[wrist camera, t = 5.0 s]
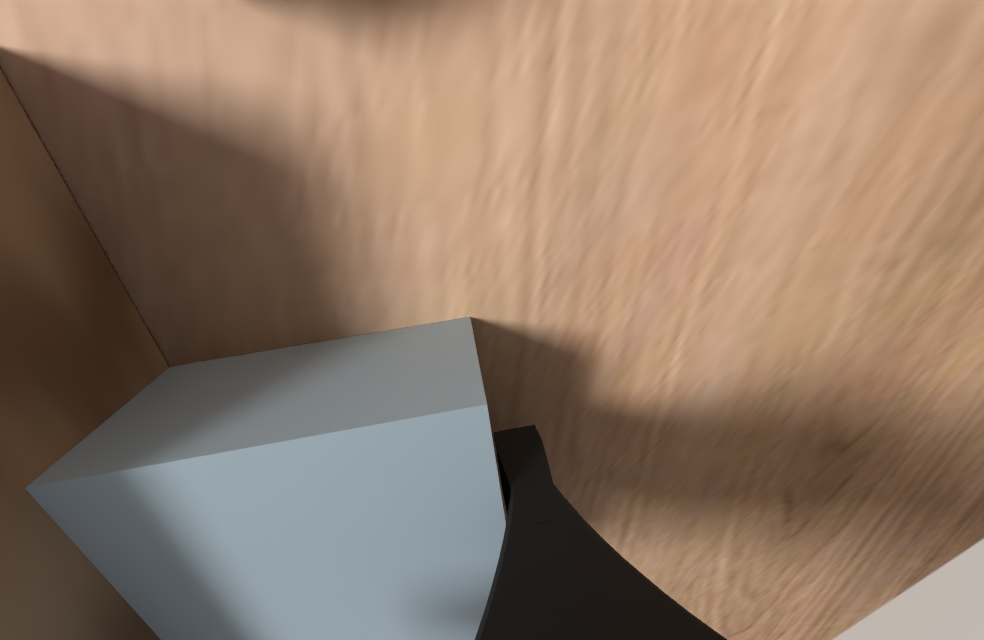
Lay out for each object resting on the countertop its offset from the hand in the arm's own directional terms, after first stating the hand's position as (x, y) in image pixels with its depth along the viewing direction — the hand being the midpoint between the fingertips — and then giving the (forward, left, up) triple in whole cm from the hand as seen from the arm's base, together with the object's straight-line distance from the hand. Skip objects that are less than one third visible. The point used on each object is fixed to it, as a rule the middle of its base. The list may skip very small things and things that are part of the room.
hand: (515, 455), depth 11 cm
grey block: (0, +5, -2) cm, 5 cm away
